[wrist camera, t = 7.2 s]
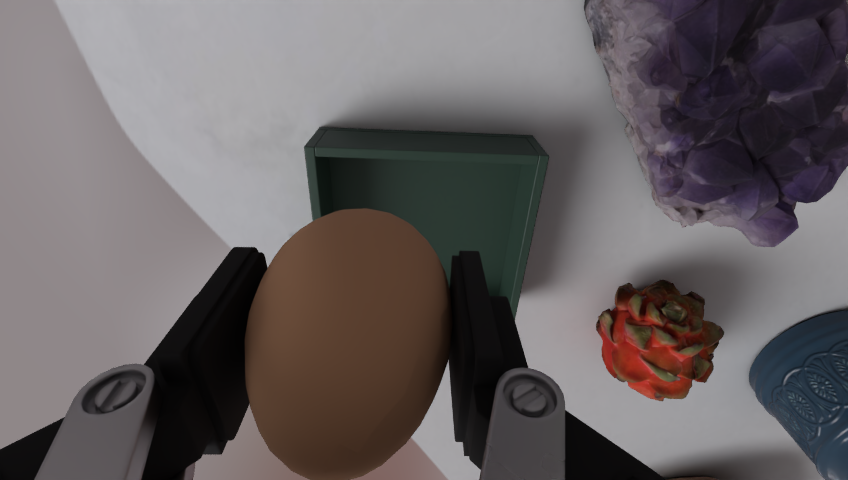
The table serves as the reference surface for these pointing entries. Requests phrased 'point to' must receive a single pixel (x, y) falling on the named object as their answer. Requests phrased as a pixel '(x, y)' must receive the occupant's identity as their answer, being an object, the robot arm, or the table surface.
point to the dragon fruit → (658, 340)
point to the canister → (809, 389)
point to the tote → (438, 190)
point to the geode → (730, 104)
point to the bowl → (694, 478)
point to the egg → (347, 343)
